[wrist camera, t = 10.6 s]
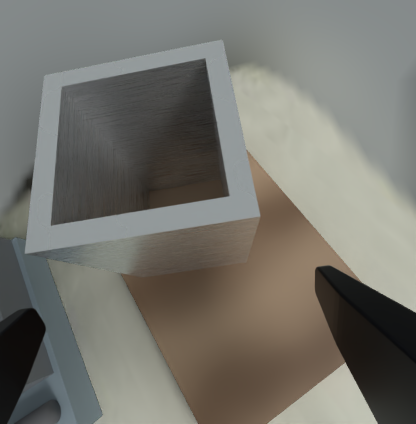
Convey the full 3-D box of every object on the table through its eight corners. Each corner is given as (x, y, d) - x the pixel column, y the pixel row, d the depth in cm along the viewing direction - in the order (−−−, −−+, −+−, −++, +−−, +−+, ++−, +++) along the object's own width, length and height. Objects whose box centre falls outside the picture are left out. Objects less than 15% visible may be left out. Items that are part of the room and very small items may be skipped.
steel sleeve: (246, 262, 13) (260, 216, 6) (142, 277, 13) (24, 254, 6) (229, 168, 15) (222, 39, 7) (138, 184, 15) (43, 75, 8)
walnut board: (373, 318, 13) (396, 322, 12) (220, 436, 13) (218, 461, 11) (225, 141, 18) (223, 123, 16) (104, 218, 17) (87, 209, 15)
